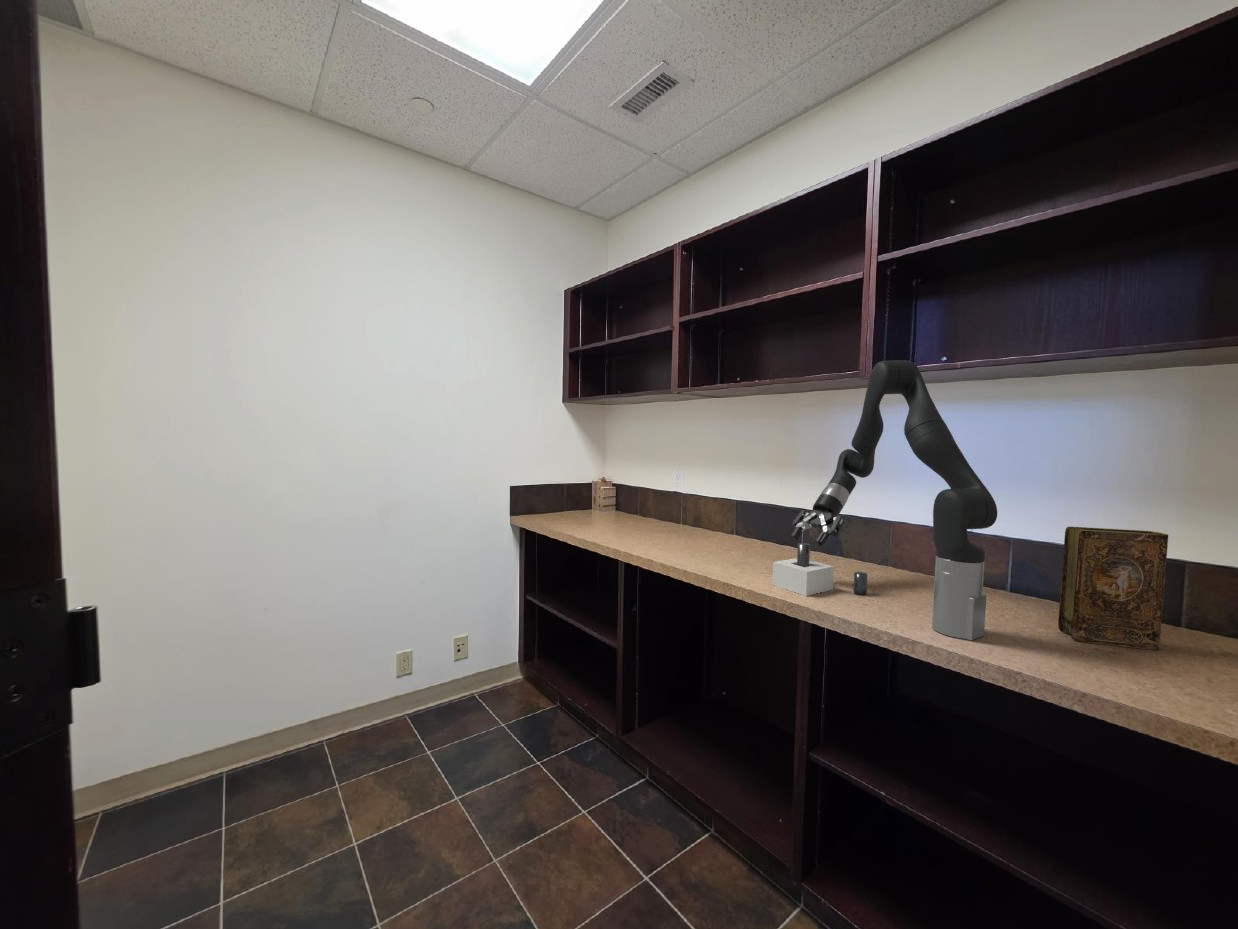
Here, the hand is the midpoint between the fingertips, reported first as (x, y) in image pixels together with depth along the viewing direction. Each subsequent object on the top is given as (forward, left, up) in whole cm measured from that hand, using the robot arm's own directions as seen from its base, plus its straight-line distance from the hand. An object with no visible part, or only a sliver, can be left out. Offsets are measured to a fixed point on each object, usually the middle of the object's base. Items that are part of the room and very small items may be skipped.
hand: (805, 541), depth 147 cm
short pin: (-12, -9, -14) cm, 20 cm away
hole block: (0, +1, -14) cm, 14 cm away
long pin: (0, +1, -14) cm, 14 cm away
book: (-60, -27, -14) cm, 67 cm away
